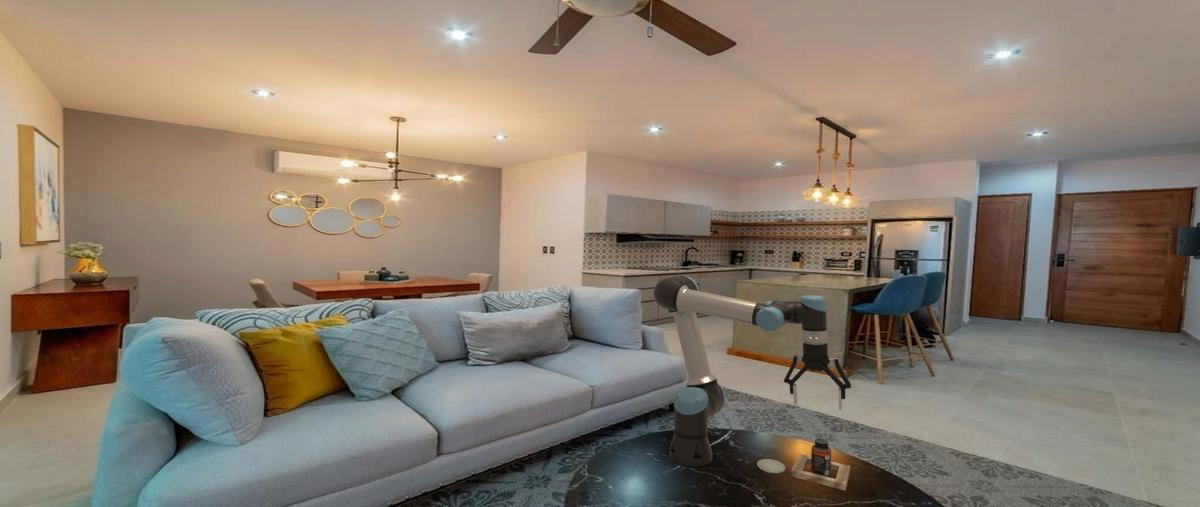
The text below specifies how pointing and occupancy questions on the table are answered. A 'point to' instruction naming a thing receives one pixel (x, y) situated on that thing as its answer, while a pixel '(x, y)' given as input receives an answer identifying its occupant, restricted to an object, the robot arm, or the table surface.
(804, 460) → the oak holder
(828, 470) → the supplement bottle
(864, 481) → the table surface
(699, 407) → the robot arm
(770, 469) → the cream flat disc
